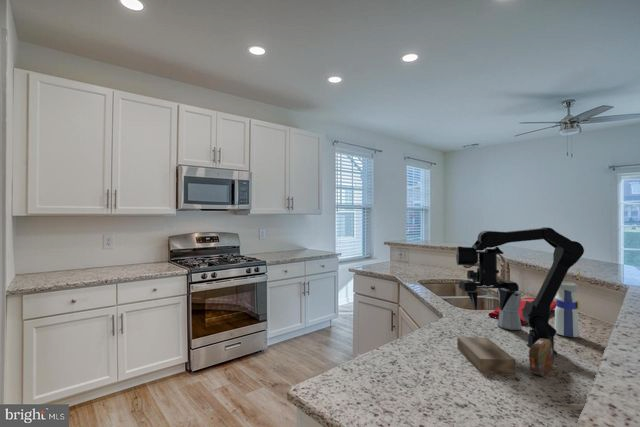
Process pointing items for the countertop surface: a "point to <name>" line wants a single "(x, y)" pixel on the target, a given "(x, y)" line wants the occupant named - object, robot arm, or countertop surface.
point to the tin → (541, 356)
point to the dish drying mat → (522, 305)
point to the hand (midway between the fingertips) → (488, 309)
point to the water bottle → (567, 310)
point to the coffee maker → (510, 312)
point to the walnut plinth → (486, 355)
